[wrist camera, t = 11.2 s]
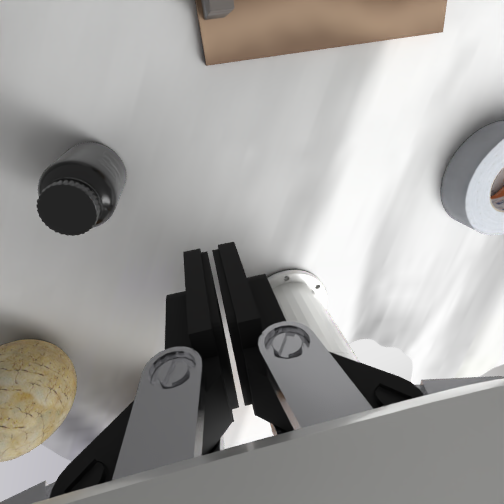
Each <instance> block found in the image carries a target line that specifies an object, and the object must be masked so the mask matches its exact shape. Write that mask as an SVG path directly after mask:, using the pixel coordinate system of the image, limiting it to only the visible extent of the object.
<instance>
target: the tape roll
mask: <svg viewBox="0 0 504 504" xmlns="http://www.w3.org/2000/svg"><path fill="white" fill-rule="evenodd" d="M503 168H504V120H501V121H497V122H494V123H491V124H488V125H486V126H484V127H483V128H481V129H479V130H478V131H476V132H475V133H474V134H472V135H471V136H470V137H469V138H468V139H467V140H466V141H465V142H464V143H463V144H462V145H461V146H460V147H459V148H458V150H457V151H456V152H455V154H454V155H453V157H452V158H451V160H450V162H449V164H448V166H447V168H446V170H445V173H444V176H443V180H442V185H441V199H442V203H443V206H444V209H445V211H446V212H447V213H448V214H449V216H451V217H452V218H453V219H455V220H456V221H458V222H460V223H462V224H464V225H466V226H468V227H470V228H472V229H474V230H476V231H478V232H480V233H482V234H486V235H500V234H504V186H503V187H502V188H501V189H500V190H499V191H498V192H497V193H496V194H494V195H493V196H491V188H492V185H493V183H494V180H495V179H496V177H497V175H498V174H499V173H500V171H501V170H502V169H503Z"/></svg>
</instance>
